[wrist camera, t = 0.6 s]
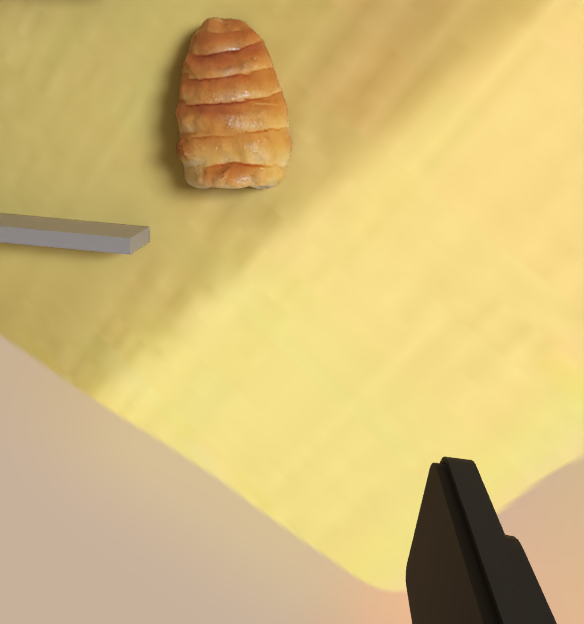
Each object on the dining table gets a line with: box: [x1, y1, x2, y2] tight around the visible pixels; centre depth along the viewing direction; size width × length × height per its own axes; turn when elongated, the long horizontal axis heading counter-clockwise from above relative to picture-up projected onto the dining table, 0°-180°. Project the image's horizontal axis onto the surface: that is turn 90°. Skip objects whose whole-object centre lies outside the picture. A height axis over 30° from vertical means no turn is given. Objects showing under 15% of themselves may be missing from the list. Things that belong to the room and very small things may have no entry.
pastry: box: [175, 17, 292, 189], centre depth 29 cm, size 9×7×4 cm
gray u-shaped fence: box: [0, 213, 150, 255], centre depth 30 cm, size 16×13×4 cm
